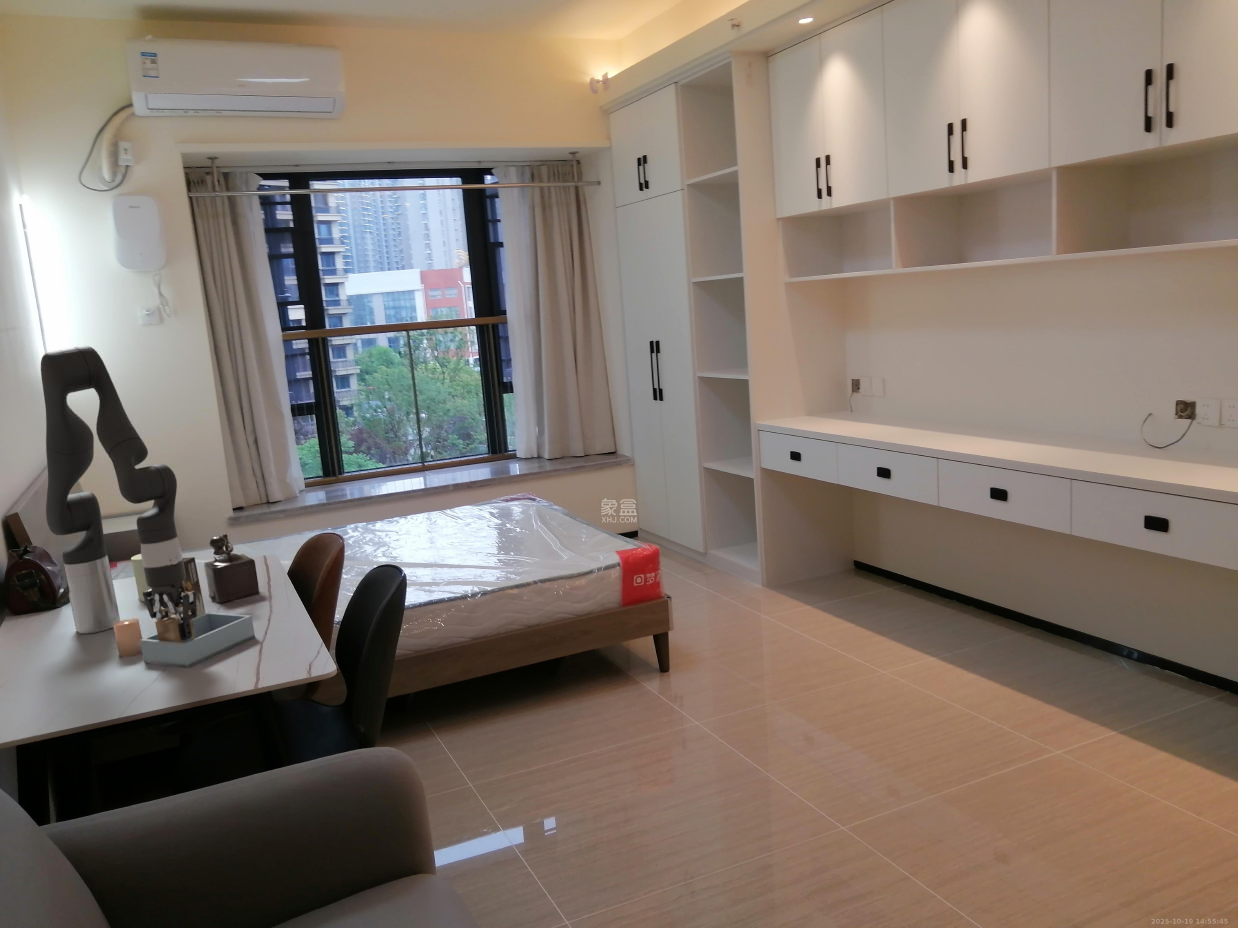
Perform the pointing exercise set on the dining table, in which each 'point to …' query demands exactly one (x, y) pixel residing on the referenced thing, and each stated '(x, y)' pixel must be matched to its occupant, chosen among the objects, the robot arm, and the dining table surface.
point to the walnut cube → (171, 630)
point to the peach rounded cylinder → (128, 637)
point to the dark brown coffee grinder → (230, 573)
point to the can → (139, 576)
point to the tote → (200, 640)
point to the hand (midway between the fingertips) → (177, 637)
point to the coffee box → (192, 584)
